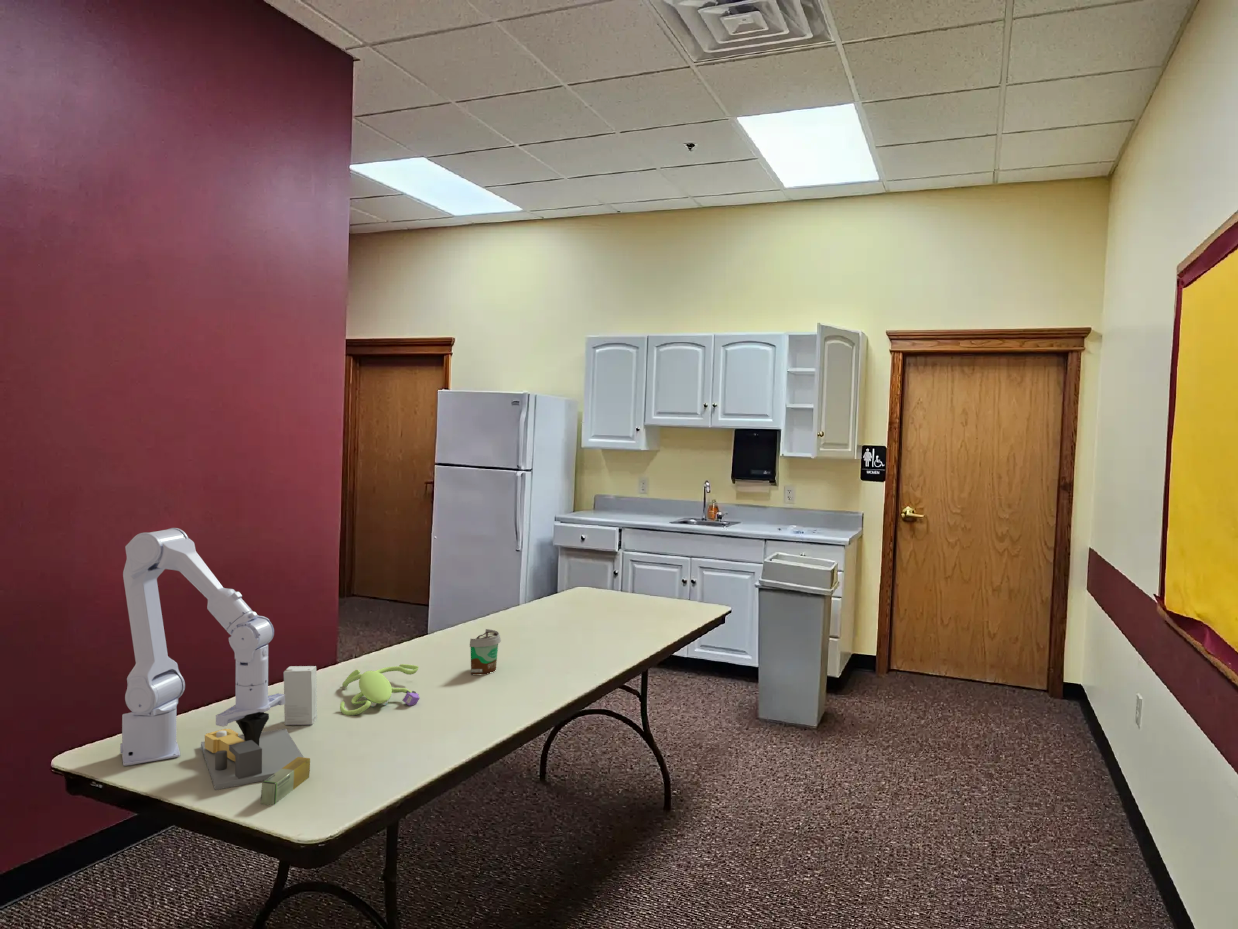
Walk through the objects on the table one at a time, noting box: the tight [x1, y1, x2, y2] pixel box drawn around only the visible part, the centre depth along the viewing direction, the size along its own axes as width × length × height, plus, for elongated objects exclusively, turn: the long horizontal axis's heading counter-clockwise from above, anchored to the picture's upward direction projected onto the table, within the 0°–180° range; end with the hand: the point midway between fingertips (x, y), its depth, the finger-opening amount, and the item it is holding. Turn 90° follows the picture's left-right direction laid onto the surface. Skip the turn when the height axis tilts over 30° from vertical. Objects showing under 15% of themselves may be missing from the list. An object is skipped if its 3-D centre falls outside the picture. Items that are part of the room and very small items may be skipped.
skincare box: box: [283, 665, 318, 726], centre depth 179 cm, size 6×4×12 cm
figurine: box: [339, 663, 420, 716], centre depth 198 cm, size 18×27×6 cm
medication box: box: [260, 756, 311, 806], centre depth 145 cm, size 12×3×4 cm, turn 172°
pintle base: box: [200, 728, 304, 791], centre depth 159 cm, size 16×23×6 cm
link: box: [204, 728, 245, 762], centre depth 157 cm, size 15×5×3 cm, turn 50°
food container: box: [469, 628, 502, 675], centre depth 221 cm, size 12×6×10 cm, turn 168°
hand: (251, 751), depth 157 cm, fingers closed, pressing on link
